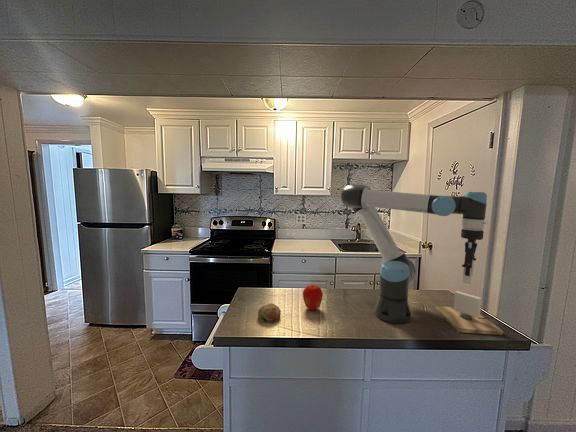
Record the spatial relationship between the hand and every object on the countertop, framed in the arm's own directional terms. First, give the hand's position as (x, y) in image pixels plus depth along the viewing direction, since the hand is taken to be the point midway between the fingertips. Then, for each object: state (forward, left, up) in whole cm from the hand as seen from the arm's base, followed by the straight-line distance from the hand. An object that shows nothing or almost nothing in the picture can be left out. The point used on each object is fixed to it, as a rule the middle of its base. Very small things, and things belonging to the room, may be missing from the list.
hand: (467, 278), depth 108 cm
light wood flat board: (0, 0, -19) cm, 19 cm away
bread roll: (-84, -8, -19) cm, 86 cm away
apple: (-65, +2, -19) cm, 68 cm away
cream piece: (+2, +2, -17) cm, 17 cm away
